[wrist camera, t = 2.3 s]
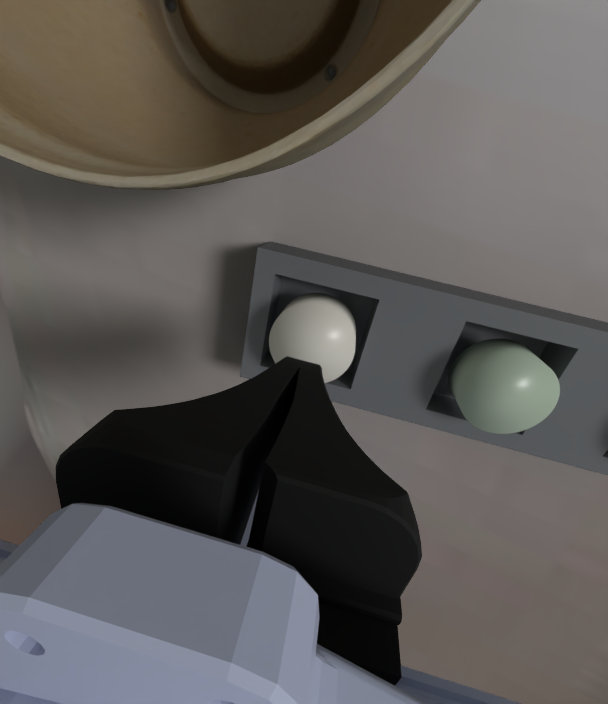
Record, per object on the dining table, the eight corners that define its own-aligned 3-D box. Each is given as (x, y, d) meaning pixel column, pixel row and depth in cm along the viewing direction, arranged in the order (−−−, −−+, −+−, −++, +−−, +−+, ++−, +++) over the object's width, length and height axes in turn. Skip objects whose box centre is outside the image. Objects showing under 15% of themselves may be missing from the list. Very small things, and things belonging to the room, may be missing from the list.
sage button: (436, 398, 17) (445, 420, 15) (468, 329, 15) (482, 346, 13) (512, 417, 17) (530, 443, 15) (553, 350, 15) (579, 370, 13)
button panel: (253, 357, 20) (240, 376, 18) (271, 241, 17) (257, 247, 15) (668, 466, 18) (711, 503, 16) (770, 362, 15) (839, 388, 13)
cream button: (273, 354, 18) (263, 372, 16) (286, 283, 16) (276, 293, 14) (344, 373, 17) (342, 393, 15) (365, 303, 16) (366, 316, 14)
